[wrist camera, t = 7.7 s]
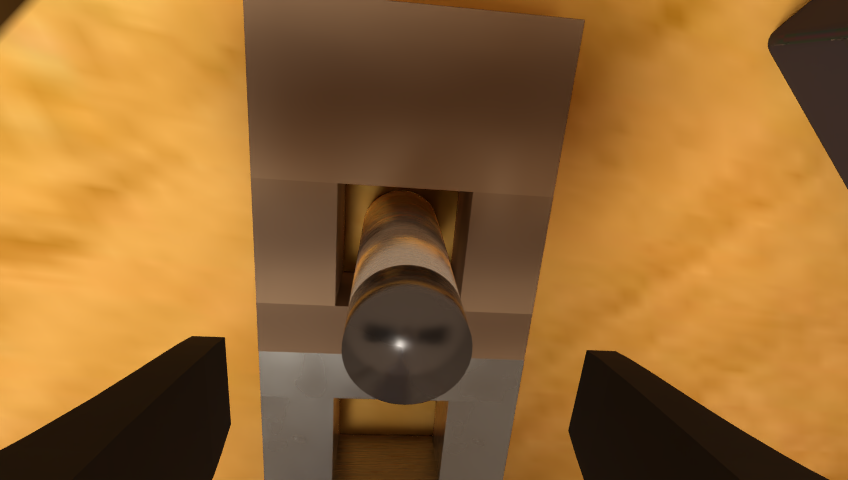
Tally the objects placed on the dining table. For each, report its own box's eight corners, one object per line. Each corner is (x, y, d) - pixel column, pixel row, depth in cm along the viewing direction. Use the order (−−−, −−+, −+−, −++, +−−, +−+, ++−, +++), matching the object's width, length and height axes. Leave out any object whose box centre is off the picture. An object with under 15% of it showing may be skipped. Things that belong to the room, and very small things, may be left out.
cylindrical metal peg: (451, 214, 19) (498, 330, 11) (412, 272, 20) (427, 422, 12) (388, 176, 19) (385, 268, 10) (349, 237, 19) (317, 371, 11)
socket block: (474, 519, 25) (485, 576, 22) (282, 518, 24) (268, 578, 21) (506, 320, 21) (524, 360, 18) (277, 311, 20) (258, 351, 17)
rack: (506, 320, 21) (523, 360, 18) (277, 311, 20) (258, 351, 17) (553, 27, 17) (584, 19, 14) (268, -1, 16) (242, -14, 13)
